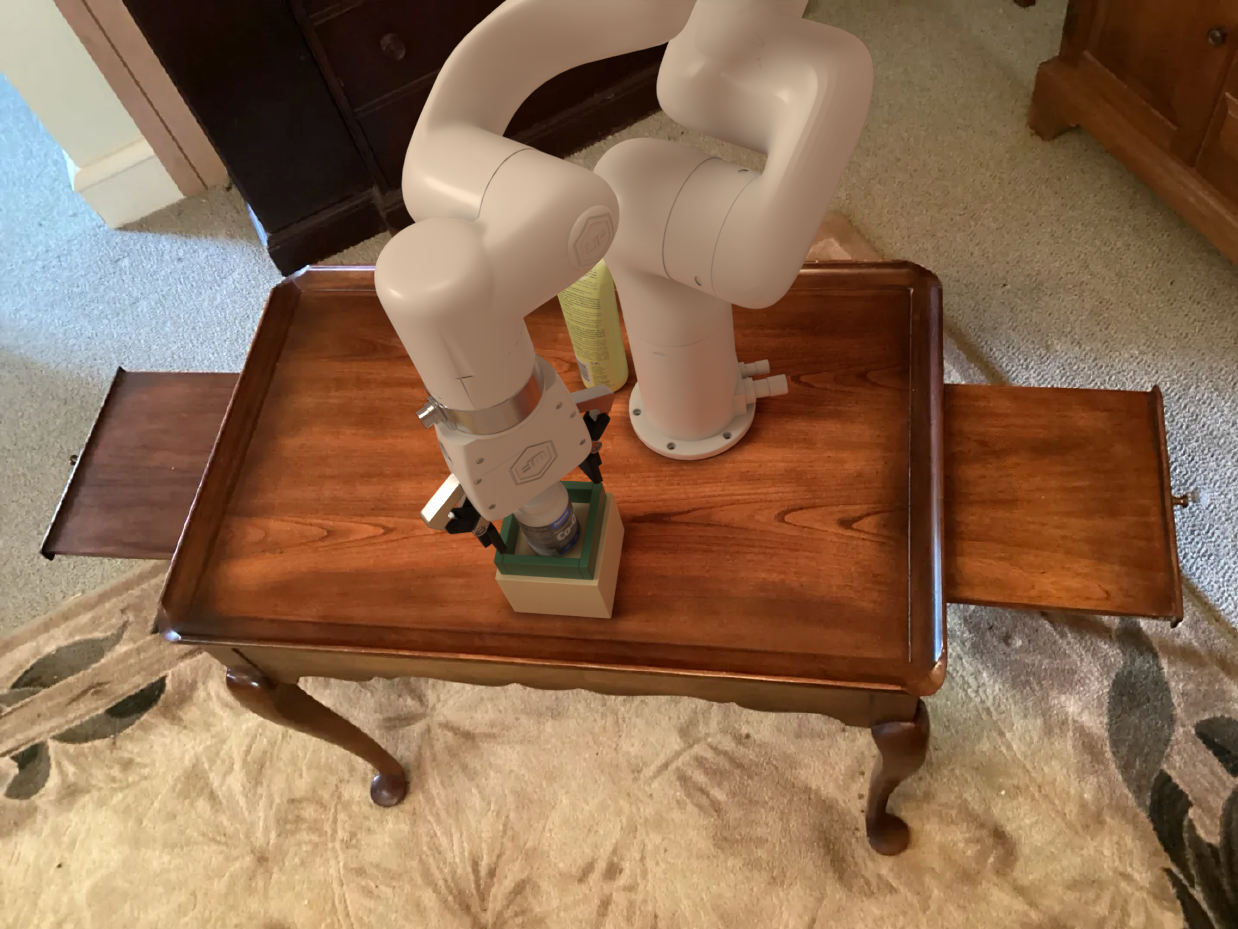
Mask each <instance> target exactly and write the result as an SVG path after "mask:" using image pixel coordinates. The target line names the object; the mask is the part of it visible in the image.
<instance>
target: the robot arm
mask: <svg viewBox="0 0 1238 929" xmlns="http://www.w3.org/2000/svg"><path fill="white" fill-rule="evenodd" d="M808 3H809V0H505V1H503V2H502V3H501V4H500V5H499V6H498V7H496V8H495V9H494V10H493V11H491V13H490V14H488V15H487V16H486V17H485V18H484V19H482V20H481V22H479V23H478V24H476V26H474V27H473V28H472V30H471V31H469V33H467V34H466V35H465V36H464V37H463V38H462V40H461V41H459V43H458V44H457V45H456V47H455V48H454V49H453V50H452V52H451V53H450V55H449V56H448V57H447V59H446V60H445V62H444V64H443V66H442V68H441V70H440V71H439V72H438V74H437V77H436V79H435V81H434V83H433V86H432V88H431V90H430V92H429V94H428V96H427V99H426V101H425V104H424V106H423V107H422V111H421V113H420V115H419V118H418V120H417V122H416V125H415V128H414V130H413V133H412V135H411V138H410V141H409V144H408V146H407V149H406V153H405V158H404V163H403V167H402V176H401V190H402V199H403V202H404V205H405V208H406V210H407V212H408V214H409V216H410V218H412V220H413V221H414V222H415V223H411V225H408V226H407V227H405V228H403V229H402V230H400V231H398V232H397V233H396V234H395V235H394V236H392V237H391V239H389V241H387V243H386V244H385V245H384V247H383V248H382V249H381V251H380V253H379V256H378V258H377V261H376V263H375V268H374V275H373V276H374V277H373V281H374V286H375V292H376V295H377V297H378V299H379V302H380V304H381V306H382V308H383V310H384V312H385V314H386V316H387V317H388V319H389V321H390V323H391V325H392V327H393V328H394V330H395V332H396V334H397V336H398V338H399V339H400V341H401V343H402V345H403V347H404V349H405V351H406V353H407V355H408V356H409V358H410V360H411V361H412V363H413V365H414V367H415V369H416V371H417V373H418V375H419V377H420V378H421V381H422V382H423V388H424V391H425V392H426V394H427V397H426V402H425V403H423V404H422V407H421V408H420V409H418V410H416V411H415V412H414V414H415V416H416V418H417V419H418V421H419V422H420V423H421V425H422V427H424V428H425V429H426V430H428V429H429V428H430V427H433V425H434V429H435V434H436V437H437V442H438V444H439V447H440V451H441V454H442V456H443V458H444V461H445V463H446V466H447V468H448V470H449V473H450V474H449V475H448V477H447V478H446V479H445V480H444V482H443V483H442V484H441V486H440V487H439V488H438V489H437V490H436V491H435V493H434V494H433V495H432V497H431V498H430V499H429V501H428V502H427V503H426V504H425V505H424V507H423V508H422V509H421V510H420V512H419V518H420V519H421V520H422V521H423V523H424V524H425V525H426V527H427V528H429V529H432V530H436V531H441V532H443V531H445V532H447V533H448V534H449V535H460V534H468V533H472V534H473V536H475V537H476V538H477V540H478V541H479V542H480V544H482V546H483V547H484V549H487V548H489V547H490V546H491V545H492V546H493V547H494V548H495V551H496V550H497V551H498V552H499V553H500V555H502V554H504V553H505V552H506V549H507V547H506V545H505V543H504V541H503V540H502V538H501V536H500V531H498V528H496V526H495V525H494V523H493V522H495V521H500V520H503V518H505V517H507V516H508V515H510V514H512V513H513V512H515V511H516V510H518V509H519V508H521V507H522V506H523V505H525V504H526V503H528V502H529V501H531V500H532V499H533V498H535V497H536V496H538V495H539V494H540V493H542V492H543V491H545V490H546V489H547V488H549V487H550V486H551V485H553V484H554V483H556V482H557V481H558V480H561V479H563V478H564V477H565V476H567V475H568V474H570V473H571V472H572V471H573V470H575V469H576V468H577V467H578V468H579V469H580V470H581V471H582V472H583V473H584V474H585V475H586V477H587V478H588V479H589V480H590V482H593V483H594V484H600V483H601V482H602V483H603V482H604V478H603V475H602V473H601V470H600V466H602V465H603V462H602V458H601V454H600V452H599V451H601V449H602V447H603V442H602V441H601V438H602V436H603V434H604V432H605V431H606V429H607V427H608V425H609V423H610V421H611V417H610V415H609V414H610V412H611V411H612V408H613V404H614V401H615V397H616V394H615V392H612V391H611V390H610V389H609V388H608V387H607V386H606V385H605V384H601V385H597V386H594V387H590V388H587V387H586V388H584V389H580V390H576V391H572V392H570V391H569V388H568V386H567V385H566V384H565V382H564V380H563V378H562V377H561V376H560V374H559V373H558V372H557V370H556V369H555V367H553V365H552V364H551V363H550V362H548V360H546V359H545V358H544V357H543V356H542V355H540V354H538V353H537V352H536V349H535V348H534V344H533V341H532V338H531V336H530V332H529V330H528V327H527V325H526V324H527V323H526V322H525V317H527V316H528V315H530V313H533V312H534V311H535V310H536V309H538V308H539V307H541V306H542V305H544V304H546V303H547V302H548V301H550V300H551V299H553V298H555V297H556V296H558V295H557V294H559V293H560V292H562V291H564V290H565V289H567V288H568V287H569V286H571V285H572V284H574V283H575V282H577V281H578V280H579V279H581V278H582V277H583V276H584V275H586V274H587V273H588V272H589V271H590V270H592V269H593V267H594V266H595V265H596V264H597V263H598V262H599V261H600V260H601V259H602V258H603V260H604V262H605V263H606V265H607V267H608V269H609V271H610V273H611V275H612V277H613V283H614V287H615V289H616V292H617V295H618V301H619V304H620V308H621V312H622V317H623V322H624V326H625V330H626V335H627V340H628V344H629V349H630V353H631V357H632V362H633V366H634V370H635V375H636V379H637V381H636V382H635V385H634V387H633V388H632V390H631V393H630V397H629V401H628V413H629V419H630V424H631V426H632V429H633V431H634V433H635V434H636V436H637V437H638V439H639V440H640V442H642V443H643V444H644V445H645V447H647V448H648V449H650V450H652V451H653V452H654V453H657V454H658V455H661V456H664V457H666V458H669V459H674V460H684V461H694V460H696V461H697V460H703V459H708V458H710V457H711V458H712V457H715V456H718V455H719V454H721V453H723V452H726V451H727V450H729V449H731V448H732V447H734V446H735V445H736V444H737V443H738V442H739V441H740V440H741V439H743V437H744V436H745V435H746V433H747V432H748V431H749V429H750V427H751V425H752V423H753V421H754V418H755V413H756V403H757V399H760V398H766V397H770V398H771V397H776V396H781V395H786V394H789V387H788V380H787V376H786V374H785V373H783V374H777V375H772V376H766V377H765V378H761V379H756V380H753V376H762V375H767V374H770V373H771V369H770V363H769V359H767V358H766V359H761V360H757V361H754V362H750V363H745V362H744V361H740V362H739V361H738V356H737V352H736V343H735V331H734V330H735V329H734V318H733V307H732V306H733V305H736V306H739V307H741V308H746V309H751V310H752V309H753V310H759V309H760V310H762V309H765V308H769V307H771V306H773V305H775V304H776V303H778V302H779V301H780V300H781V299H782V298H783V297H784V296H785V295H786V294H787V293H788V291H789V290H790V289H791V287H792V286H793V284H794V283H795V281H796V279H797V277H798V276H799V274H800V272H801V270H802V268H803V266H804V263H805V262H806V259H807V257H808V255H809V253H810V251H811V249H812V247H813V244H814V241H815V239H816V237H817V235H818V232H819V230H820V227H821V226H822V223H823V221H824V219H825V217H826V214H827V212H828V210H829V207H830V205H831V203H832V200H833V199H834V196H835V194H836V191H837V189H838V187H839V184H840V182H841V180H842V177H843V176H844V173H845V171H846V169H847V167H848V164H849V162H850V160H851V157H852V155H853V153H854V150H855V148H856V146H857V144H858V141H859V138H860V136H861V133H862V130H863V128H864V125H865V122H866V119H867V117H868V113H869V110H870V105H871V101H872V96H873V90H874V80H875V79H874V78H875V75H874V73H875V72H874V63H873V58H872V56H871V54H870V51H869V50H868V47H866V45H865V43H863V41H862V40H860V38H859V37H857V36H856V35H854V34H852V33H850V32H848V31H847V30H844V29H842V28H841V27H836V26H833V25H829V24H825V23H822V22H818V21H816V20H811V19H807V18H803V15H804V13H805V11H806V8H807V5H808ZM666 43H668V44H667V46H666V49H665V51H664V54H663V57H662V61H661V63H660V66H659V69H658V74H657V80H656V97H657V101H658V105H659V106H660V108H661V109H662V111H663V112H664V113H665V115H666V116H667V117H668V118H670V119H671V120H673V121H674V122H675V123H677V124H678V125H681V126H683V127H685V128H687V129H689V130H691V131H694V132H696V133H699V134H702V135H704V136H706V137H710V138H711V139H715V140H718V141H721V142H725V143H727V144H731V145H734V146H737V147H740V148H743V149H746V150H749V151H751V152H755V153H758V154H761V155H764V156H766V157H767V158H766V162H765V165H764V169H763V172H761V171H759V170H755V169H753V168H749V167H746V166H743V165H741V164H738V163H736V162H731V161H729V160H726V159H723V158H722V157H720V156H717V155H713V154H710V153H706V152H705V151H701V150H699V149H698V150H697V149H695V148H693V147H689V146H686V145H683V144H680V143H677V142H673V141H669V140H667V139H660V138H655V137H634V138H630V139H626V140H623V141H621V142H619V143H616V144H615V145H613V146H612V147H610V148H609V149H608V150H607V151H605V153H603V155H602V156H601V157H600V159H599V160H598V161H597V163H596V165H595V166H594V168H593V170H590V169H588V168H585V167H584V166H581V165H579V164H577V163H575V162H574V163H573V162H571V161H568V160H565V159H562V158H560V157H558V156H554V155H552V154H548V153H546V152H544V151H541V150H539V149H537V148H535V147H533V146H530V145H527V144H524V143H522V142H519V141H516V140H514V139H511V138H508V137H505V136H503V135H504V134H505V131H506V130H507V127H508V125H509V123H510V122H511V120H512V118H513V117H514V116H515V114H516V112H517V111H518V109H519V108H520V107H521V105H523V103H524V102H525V100H527V98H528V97H529V96H530V95H531V94H532V93H533V92H534V91H535V90H537V89H538V88H539V87H541V86H542V85H544V84H545V83H546V82H547V81H549V80H551V79H553V78H555V77H556V76H558V75H560V74H561V73H564V72H566V71H569V70H570V69H573V68H576V67H579V66H583V65H585V64H588V63H592V62H596V61H597V62H598V61H601V60H604V59H608V58H612V57H616V56H621V55H625V54H629V53H633V52H637V51H642V50H647V49H650V48H653V47H657V46H662V45H665V44H666ZM583 413H584V415H582V414H583ZM456 505H457V506H456ZM455 506H456V507H455Z"/></svg>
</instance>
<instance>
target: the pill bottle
mask: <svg viewBox="0 0 1238 929" xmlns="http://www.w3.org/2000/svg"><path fill="white" fill-rule="evenodd" d="M513 514H514V516H515V518H516V520H517V522H518V524H519V526H520V528H521V530H522V532H523V534H524V536H525V538H526V540H527V542H528V544H529V546H530V547H531V549H532V550H533V551H534V552H535V553H536V554H538V555H540V556H548V557H561V556H564V555H566V554H567V553H569V552H570V551H571V550H573V549H574V547H575V546H576V544H577V543H578V541H579V538H580V534H581V528H580V524H579V521H578V519H577V516H576V514H575V511H574V508H573V505H572V503H571V500H570V497H569V494H568V492H567V490H566V488H565V486H564V485H563V484H562V483H561V482H560V481H559V480H558V481H557V482H556V483H554V484H553V485H551V486H550V487H549V488H547V489H546V490H545V491H543V492H542V493H540V494H539V495H538V496H536V497H535V498H533V499H532V500H531V501H529V502H528V503H526V504H525V505H523V506H522V507H521V508H519V509H518V510H516V511H515V512H513Z"/></svg>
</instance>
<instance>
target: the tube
mask: <svg viewBox="0 0 1238 929" xmlns="http://www.w3.org/2000/svg"><path fill="white" fill-rule="evenodd" d="M556 296H557V298H558V301H559V304H560V308H561V311H562V315H563V318H564V322H565V324H566V328H567V331H568V336H569V338H570V341H571V345H572V348H573V352H574V355H575V358H576V363H577V366H578V370H579V373H580V377H581V380H582V383H583V385H584V386H585V388H586V389H587V388H590V387H594V386H597V385H601V384H605V385H606V386H607V387H608V388H609V389H610V390H611V391H612V392H613V393H615V392H616V391H617V392H618V391H619V390H620V389H622V387H624V386H625V385H626V383H627V381H628V379H629V376H630V374H629V366H628V360H627V355H626V349H625V345H624V344H625V343H624V338H623V334H622V328H621V323H620V317H619V316H620V315H619V311H618V305H617V299H616V298H617V297H616V291H615V283H614V280H613V277H612V275H611V273H610V271H609V269H608V267H607V265H606V263H605V262H604V260H603V258H602V259H601V260H600V261H599V262H598V263H597V264H596V265H595V266H594V267H593V269H592V270H590V271H589V272H588V273H587V274H586V275H584V276H583V277H582V278H581V279H579V280H578V281H577V282H575V283H574V284H572V285H571V286H569V287H568V288H567V289H565V290H564V291H562V292H560V293H559V294H557V295H556Z"/></svg>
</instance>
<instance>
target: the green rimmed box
mask: <svg viewBox="0 0 1238 929" xmlns="http://www.w3.org/2000/svg"><path fill="white" fill-rule="evenodd" d="M559 481H560V482H561V483H562V484H563V485H564V486H565V488H566V490H567V492H568V494H569V497H570V500H571V503H572V505H573V508H574V511H575V514H576V516H577V519H578V521H579V524H580V528H581V534H580V538H579V541H578V543H577V544H576V546H575V547H574V549H573V550H571V551H570V552H569V553H567V554H566V555H564V556H561V557H548V556H540V555H538V554H536V553H535V552H534V551H533V550H532V549H531V547H530V546H529V544H528V542H527V540H526V538H525V536H524V534H523V532H522V530H521V528H520V526H519V524H518V522H517V520H516V518H515V516H514V514H513V513H512V514H510V515H508V516H507V517H505V518H502V523H501V527H500V531H499V534H500V536H501V538H502V540H503V541H504V543H505V545H506V547H507V549H506V552H505V553H504V554H502V555H500V553H499V552H498V551H497V550H496V549H495V553H494V557H493V564H494V565H495V567H496V574H495V578H494V579H495V581H496V583H497V585H498V586H499V589H500V590H501V591H502V593H503V594H504V596H505V598H506V599H507V601H508V603H509V605H510V606H511V608H512V609H513V611H514V613H526V614H527V613H528V614H540V615H552V616H553V615H554V616H569V617H584V618H598V619H612V615H613V609H614V602H615V594H616V590H617V589H616V588H617V583H618V582H617V581H618V576H619V569H620V563H621V556H622V549H623V543H624V536H625V527H624V524H623V521H622V518H621V515H620V511H619V508H618V505H617V502H616V498H615V496H614V493H613V492H606V490H605V486H604V484H603V481H602V482H601V483H600V484H594V483H593V482H592V481H583V480H582V481H580V480H561V479H560V480H559Z"/></svg>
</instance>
